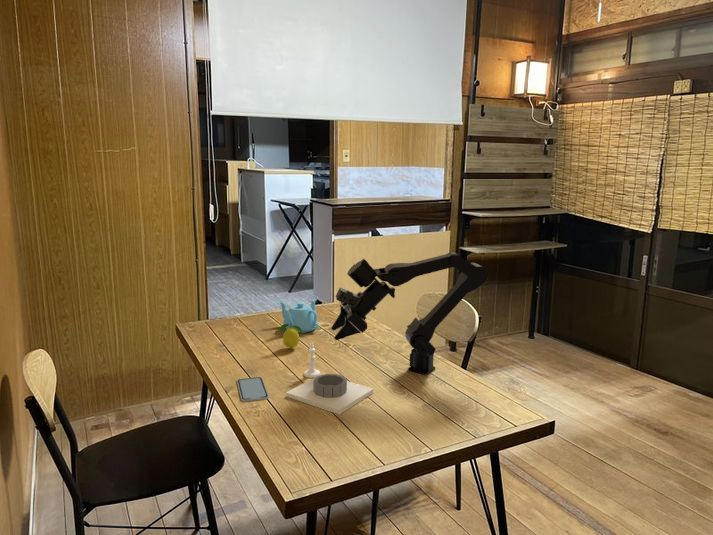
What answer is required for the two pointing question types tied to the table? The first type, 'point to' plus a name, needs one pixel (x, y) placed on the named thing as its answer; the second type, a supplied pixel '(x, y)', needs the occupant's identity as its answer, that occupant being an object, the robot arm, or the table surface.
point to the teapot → (300, 316)
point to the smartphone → (252, 389)
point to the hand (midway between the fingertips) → (333, 334)
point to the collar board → (330, 402)
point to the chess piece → (311, 365)
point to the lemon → (291, 335)
